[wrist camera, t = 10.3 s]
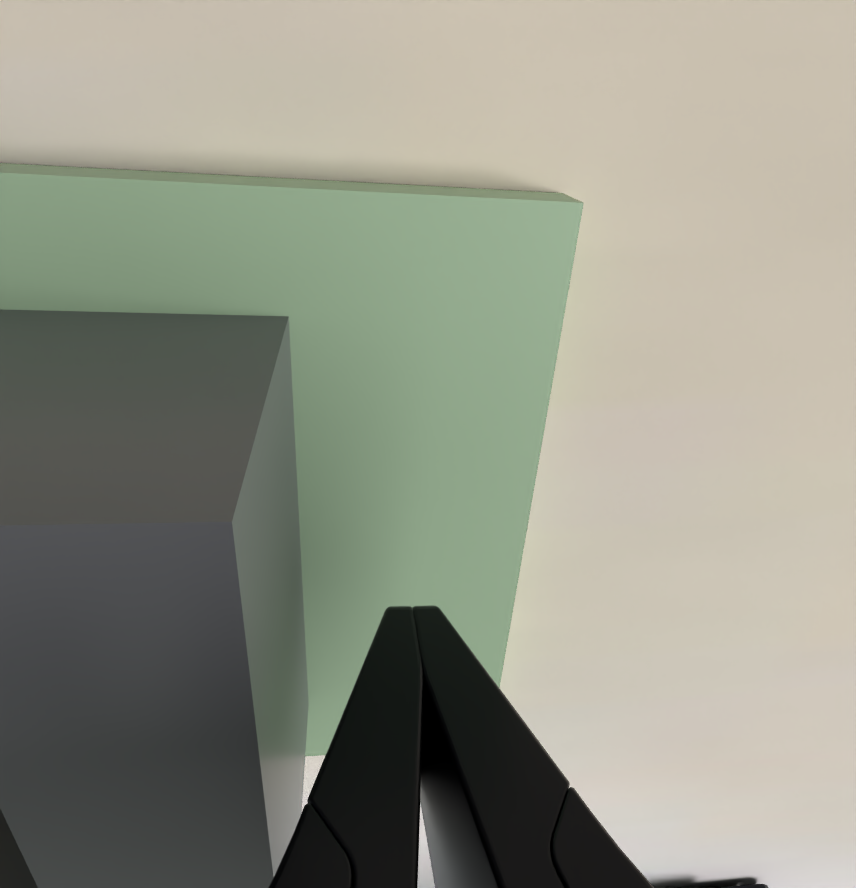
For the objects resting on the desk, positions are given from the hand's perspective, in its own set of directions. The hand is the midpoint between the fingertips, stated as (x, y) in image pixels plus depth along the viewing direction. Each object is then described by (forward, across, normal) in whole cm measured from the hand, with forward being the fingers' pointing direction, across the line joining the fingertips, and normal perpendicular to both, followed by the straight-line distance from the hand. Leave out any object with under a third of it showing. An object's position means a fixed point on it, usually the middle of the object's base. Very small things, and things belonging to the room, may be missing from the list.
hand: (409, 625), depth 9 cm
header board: (+3, +4, 0) cm, 5 cm away
